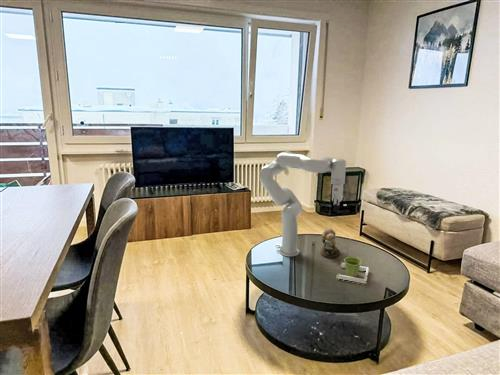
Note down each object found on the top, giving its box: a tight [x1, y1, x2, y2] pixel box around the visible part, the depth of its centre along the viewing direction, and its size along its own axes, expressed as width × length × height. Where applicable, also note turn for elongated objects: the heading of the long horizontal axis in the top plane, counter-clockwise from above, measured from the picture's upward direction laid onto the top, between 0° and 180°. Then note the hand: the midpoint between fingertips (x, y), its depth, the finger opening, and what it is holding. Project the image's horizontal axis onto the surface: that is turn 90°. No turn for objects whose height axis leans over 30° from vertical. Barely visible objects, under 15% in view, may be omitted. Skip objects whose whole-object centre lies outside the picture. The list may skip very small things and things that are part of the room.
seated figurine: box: [320, 227, 340, 259], centre depth 214 cm, size 18×12×17 cm, turn 168°
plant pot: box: [343, 256, 363, 278], centre depth 189 cm, size 9×9×9 cm
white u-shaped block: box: [336, 261, 370, 284], centre depth 189 cm, size 15×15×3 cm
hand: (336, 211), depth 197 cm, fingers closed
